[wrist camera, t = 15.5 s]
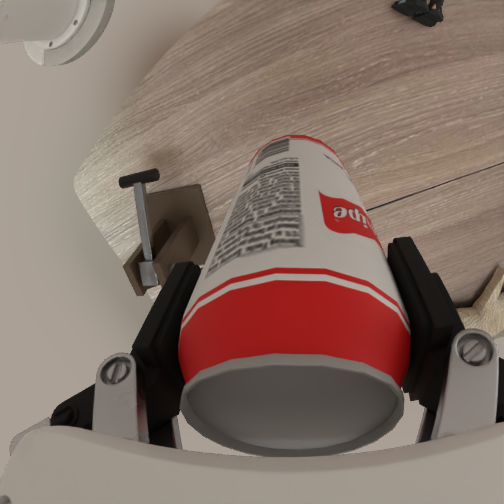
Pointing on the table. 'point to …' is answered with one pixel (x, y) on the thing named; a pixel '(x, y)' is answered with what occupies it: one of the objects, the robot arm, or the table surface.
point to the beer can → (295, 315)
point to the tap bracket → (174, 233)
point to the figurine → (421, 10)
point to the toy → (487, 308)
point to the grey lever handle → (144, 221)
